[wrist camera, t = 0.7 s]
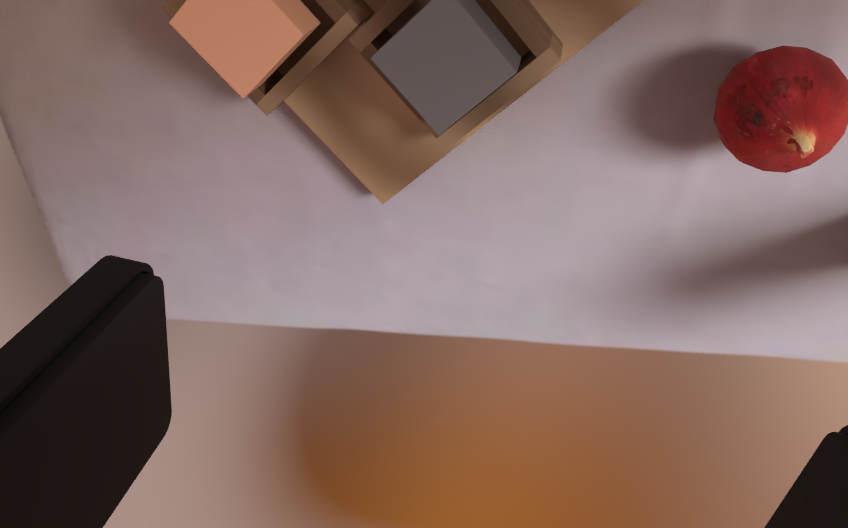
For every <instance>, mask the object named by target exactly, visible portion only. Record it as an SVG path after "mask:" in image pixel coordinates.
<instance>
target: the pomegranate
mask: <svg viewBox="0 0 848 528" xmlns="http://www.w3.org/2000/svg"><path fill="white" fill-rule="evenodd" d="M714 121H715V124H716V127H717V130H718V133H719V136H720V139H721V141H722V143H723V144H724V146H725V147H726V148H727V149H728V150H729V151H730V152H731V153H732V154H733V155H734V156H735V157H736V158H737V159H738V160H739V161H741V162H742V163H744V164H747V165H750V166H752V167H755V168H757V169H760V170H763V171H773V172H785V173H787V172H790V171H793V170H796V169H799V168H803V167H806V166H809V165H811V164H812V163H814V162H815V161H817V160H818V159H820V158H821V157H823V156H824V155H826V154H827V153H829V152H830V151H831V150H832V148H833V147H834V146H835V145H836V143H837V142H838V141H839V140H840V139H841V137H842V136H843V135H844V133H845V130H846V127H847V124H848V80H847V78H846V77H845V76H844V74H843V73H842V72H841V70H840V69H839V68H838V67H837V65H836V64H835V63H834V61H833V60H832V59H830V58H828V57H825V56H823V55H821V54H819V53H817V52H814V51H812V50H810V49H807V48H802V47H791V46H780V47H776V48H773V49H769V50H765V51H761V52H757V53H756V54H754V55H753V56H751V57H749V58H748V59H746V60H745V61H743V62H742V63H740V64H739V65H737V66H735V67H734V68H733V69H732V71H731V72H730V74H729V75H728V77H727V78H726V79H725V81H724V82H723V84H722V85H721V87H720V88H719V90H718V96H717V102H716V108H715V114H714Z"/></svg>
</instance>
